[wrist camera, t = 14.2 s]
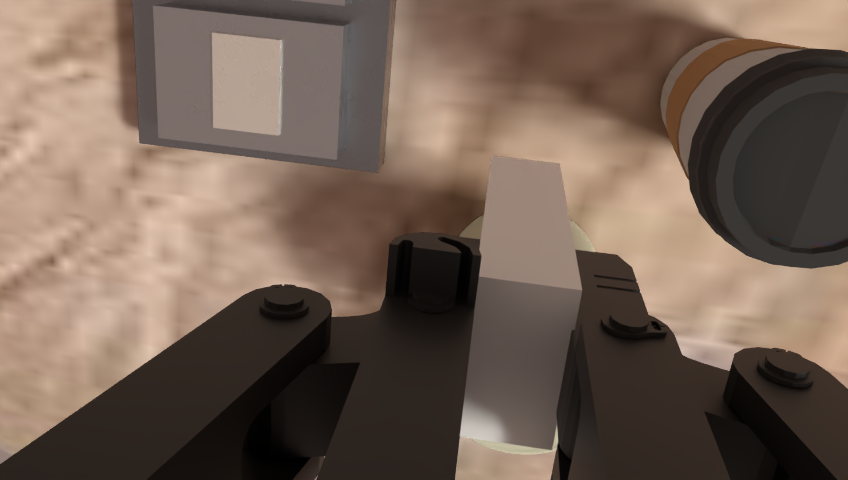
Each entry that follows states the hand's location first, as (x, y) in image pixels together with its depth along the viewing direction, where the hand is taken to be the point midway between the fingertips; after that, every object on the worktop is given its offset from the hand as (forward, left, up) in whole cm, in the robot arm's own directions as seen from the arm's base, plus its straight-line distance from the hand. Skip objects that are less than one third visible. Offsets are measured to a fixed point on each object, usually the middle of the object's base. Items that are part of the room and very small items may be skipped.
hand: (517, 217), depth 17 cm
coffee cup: (+1, +11, -27) cm, 29 cm away
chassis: (-3, -14, -26) cm, 30 cm away
